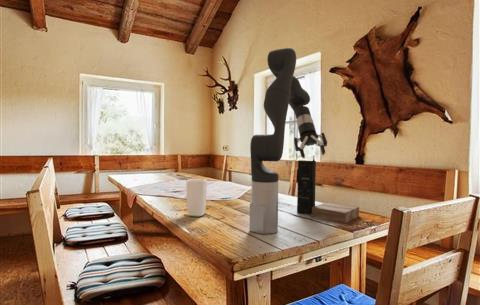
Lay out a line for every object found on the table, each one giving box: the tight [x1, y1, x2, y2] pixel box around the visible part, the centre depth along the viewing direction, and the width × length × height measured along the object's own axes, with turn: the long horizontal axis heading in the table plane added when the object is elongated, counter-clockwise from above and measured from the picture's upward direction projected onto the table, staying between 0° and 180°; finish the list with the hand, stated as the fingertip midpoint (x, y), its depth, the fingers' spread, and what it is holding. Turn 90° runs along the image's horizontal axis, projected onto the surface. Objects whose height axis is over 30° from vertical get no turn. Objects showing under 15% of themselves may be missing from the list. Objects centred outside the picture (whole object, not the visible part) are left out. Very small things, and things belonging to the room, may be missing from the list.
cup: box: [185, 178, 208, 218], centre depth 123 cm, size 7×7×15 cm
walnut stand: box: [311, 201, 360, 224], centre depth 123 cm, size 14×14×4 cm
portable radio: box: [295, 155, 317, 215], centre depth 130 cm, size 8×6×25 cm
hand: (313, 155), depth 132 cm, fingers open, 8 cm apart
